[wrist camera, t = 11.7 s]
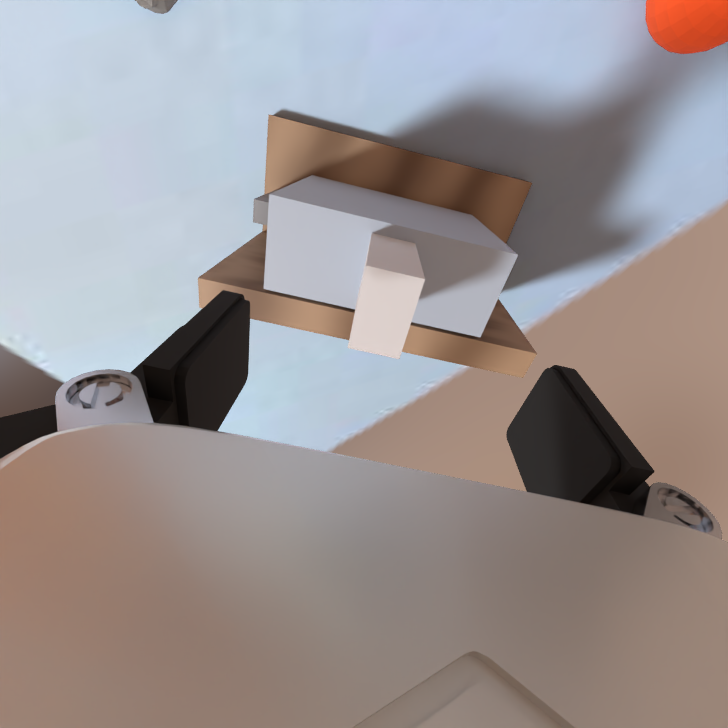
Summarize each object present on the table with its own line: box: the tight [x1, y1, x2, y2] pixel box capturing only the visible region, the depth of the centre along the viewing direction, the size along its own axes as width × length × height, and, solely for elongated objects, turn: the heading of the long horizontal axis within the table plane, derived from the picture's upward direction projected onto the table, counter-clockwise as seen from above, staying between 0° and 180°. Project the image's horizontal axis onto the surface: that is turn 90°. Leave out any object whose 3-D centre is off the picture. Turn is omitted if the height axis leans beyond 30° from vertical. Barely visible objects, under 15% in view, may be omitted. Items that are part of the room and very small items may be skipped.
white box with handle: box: [264, 175, 518, 359], centre depth 23 cm, size 14×5×18 cm, turn 78°
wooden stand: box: [198, 115, 537, 378], centre depth 26 cm, size 22×11×14 cm, turn 78°
